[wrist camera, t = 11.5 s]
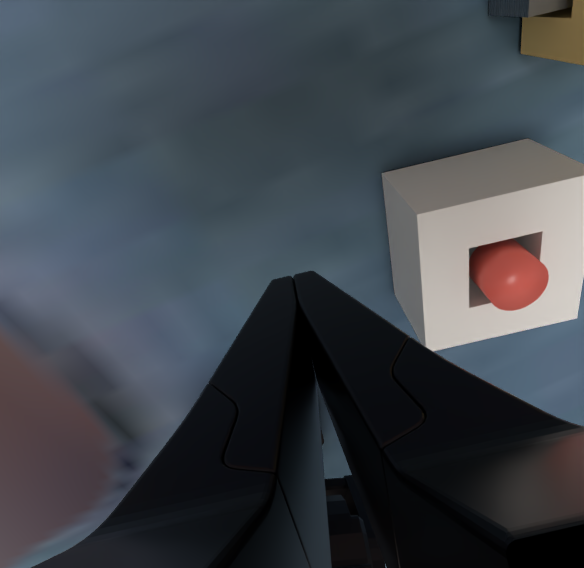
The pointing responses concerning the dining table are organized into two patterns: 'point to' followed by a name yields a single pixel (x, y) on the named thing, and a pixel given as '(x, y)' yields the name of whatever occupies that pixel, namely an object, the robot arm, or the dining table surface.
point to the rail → (526, 7)
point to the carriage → (556, 34)
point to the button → (508, 274)
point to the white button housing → (483, 237)
